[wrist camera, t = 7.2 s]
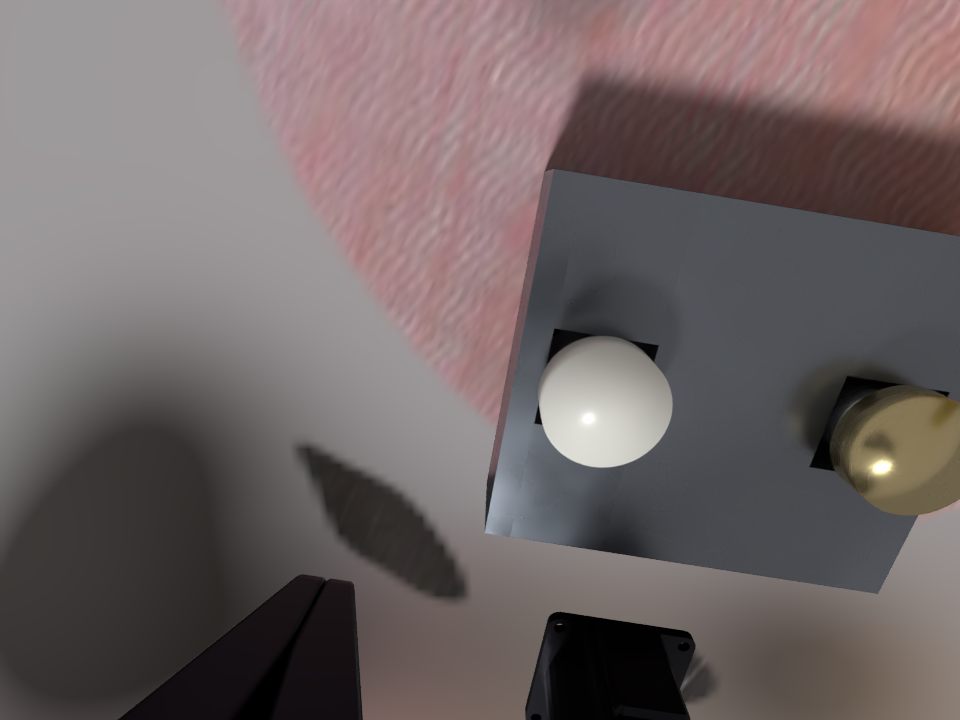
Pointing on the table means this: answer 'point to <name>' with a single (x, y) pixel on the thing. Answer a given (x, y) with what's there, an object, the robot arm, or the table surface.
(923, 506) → the knob brass
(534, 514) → the mount
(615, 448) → the knob ivory
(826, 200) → the table surface
